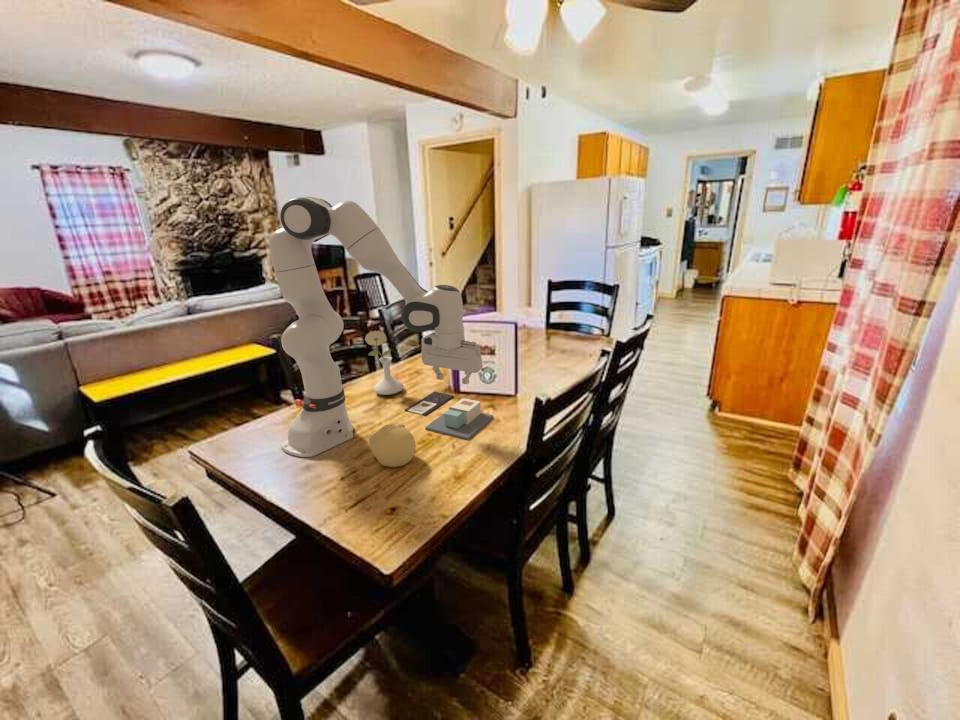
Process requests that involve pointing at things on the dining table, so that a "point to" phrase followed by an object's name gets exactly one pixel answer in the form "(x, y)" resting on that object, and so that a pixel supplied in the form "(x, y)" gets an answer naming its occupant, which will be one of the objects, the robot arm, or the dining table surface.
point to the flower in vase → (388, 382)
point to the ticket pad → (462, 429)
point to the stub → (454, 418)
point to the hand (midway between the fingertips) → (452, 381)
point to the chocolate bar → (429, 403)
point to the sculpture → (393, 445)
